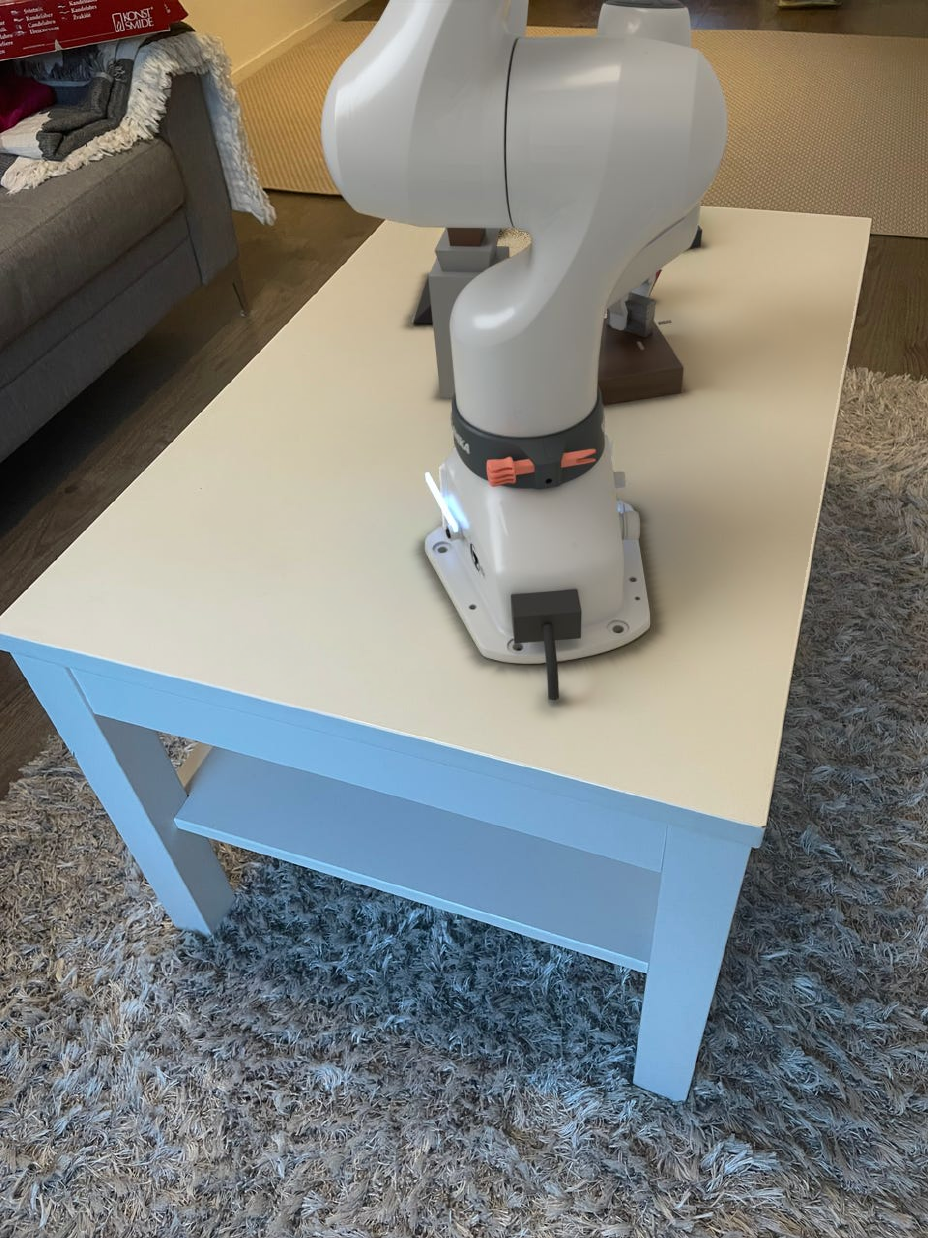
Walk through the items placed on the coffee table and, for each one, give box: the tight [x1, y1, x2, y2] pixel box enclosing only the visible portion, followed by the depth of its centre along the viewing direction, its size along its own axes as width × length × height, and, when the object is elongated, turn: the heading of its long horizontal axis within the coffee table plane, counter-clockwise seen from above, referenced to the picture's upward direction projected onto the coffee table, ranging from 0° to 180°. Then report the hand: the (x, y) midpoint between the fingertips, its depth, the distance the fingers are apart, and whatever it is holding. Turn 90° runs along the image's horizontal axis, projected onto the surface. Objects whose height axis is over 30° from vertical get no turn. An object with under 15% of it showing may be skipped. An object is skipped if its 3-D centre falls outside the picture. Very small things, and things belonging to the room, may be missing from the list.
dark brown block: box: [597, 317, 685, 406], centre depth 103 cm, size 14×12×3 cm
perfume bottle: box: [427, 228, 511, 399], centre depth 97 cm, size 7×7×18 cm
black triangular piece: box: [411, 257, 437, 327], centre depth 115 cm, size 12×7×5 cm, turn 173°
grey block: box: [606, 292, 657, 338], centre depth 102 cm, size 5×2×4 cm, turn 48°
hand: (628, 319), depth 103 cm, fingers closed on grey block, 2 cm apart
